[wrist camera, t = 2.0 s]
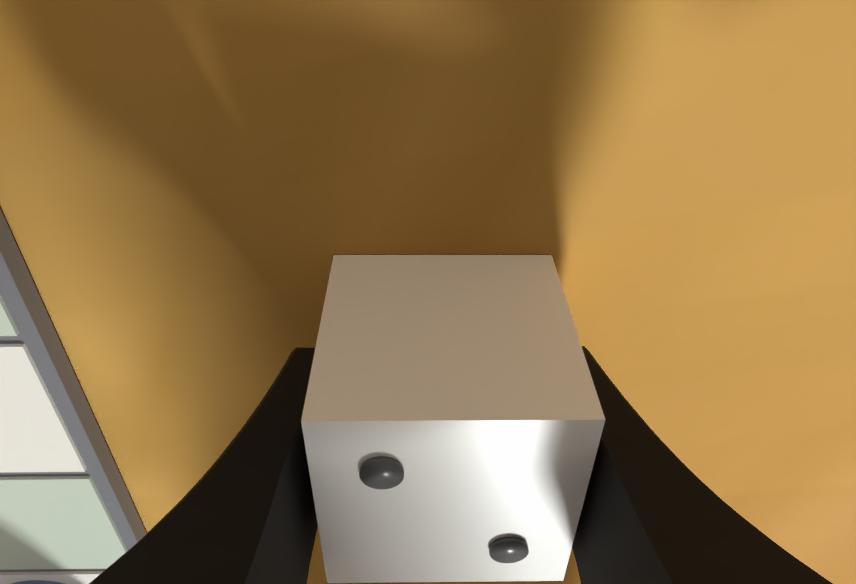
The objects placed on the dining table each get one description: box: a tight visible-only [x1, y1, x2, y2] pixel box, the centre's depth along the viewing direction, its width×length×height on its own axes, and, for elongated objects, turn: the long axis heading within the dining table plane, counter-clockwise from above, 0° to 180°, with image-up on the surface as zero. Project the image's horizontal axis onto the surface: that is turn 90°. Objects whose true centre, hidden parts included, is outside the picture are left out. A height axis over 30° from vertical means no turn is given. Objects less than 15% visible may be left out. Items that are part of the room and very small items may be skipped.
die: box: [301, 255, 605, 583], centre depth 12 cm, size 4×5×5 cm
